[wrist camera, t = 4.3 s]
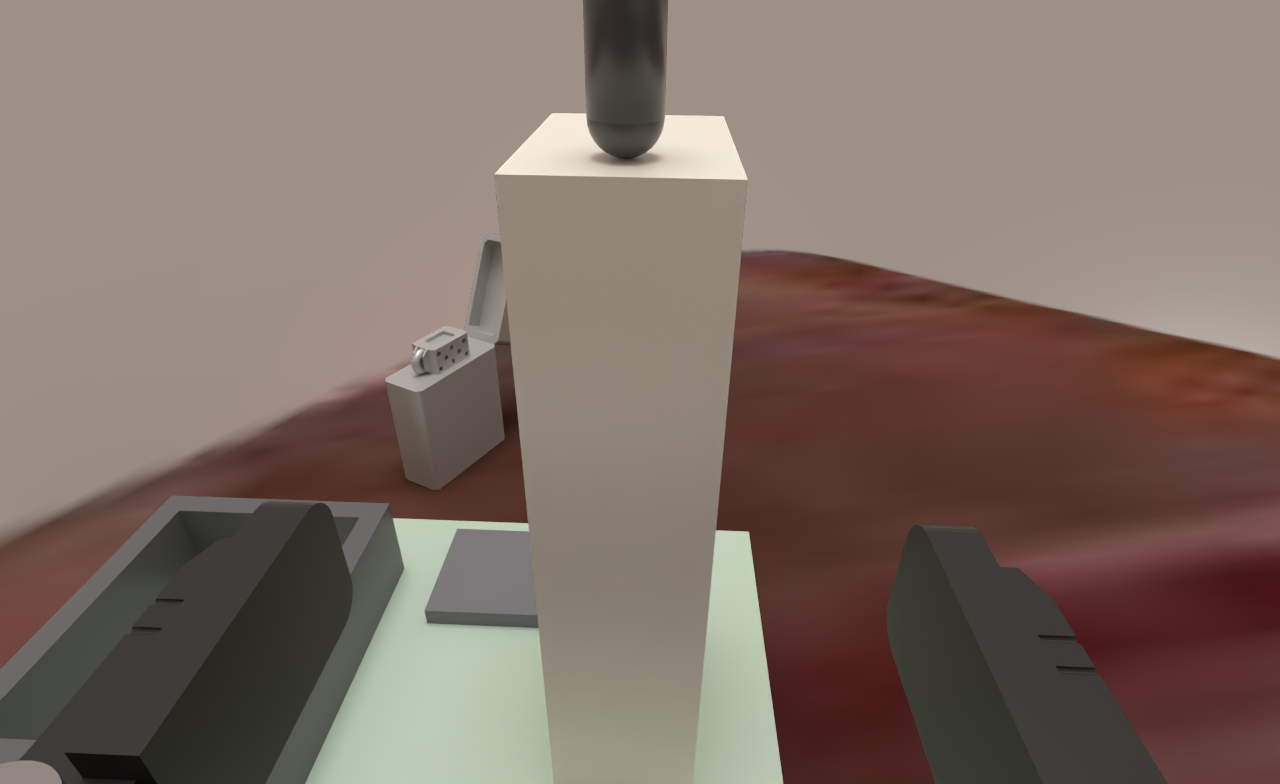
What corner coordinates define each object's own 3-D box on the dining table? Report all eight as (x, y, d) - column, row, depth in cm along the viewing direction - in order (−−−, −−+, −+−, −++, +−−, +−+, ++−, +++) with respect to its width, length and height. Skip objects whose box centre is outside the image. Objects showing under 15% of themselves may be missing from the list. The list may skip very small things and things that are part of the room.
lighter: (437, 492, 25) (399, 290, 21) (402, 477, 26) (360, 279, 22) (549, 404, 30) (537, 229, 26) (518, 394, 31) (502, 222, 27)
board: (745, 559, 22) (756, 469, 20) (806, 1051, 12) (840, 962, 10) (209, 538, 23) (171, 449, 21) (-171, 990, 13) (-315, 897, 11)
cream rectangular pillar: (688, 623, 18) (744, -181, 10) (692, 791, 15) (789, -290, 6) (578, 619, 19) (536, -182, 10) (554, 785, 15) (448, -288, 6)
